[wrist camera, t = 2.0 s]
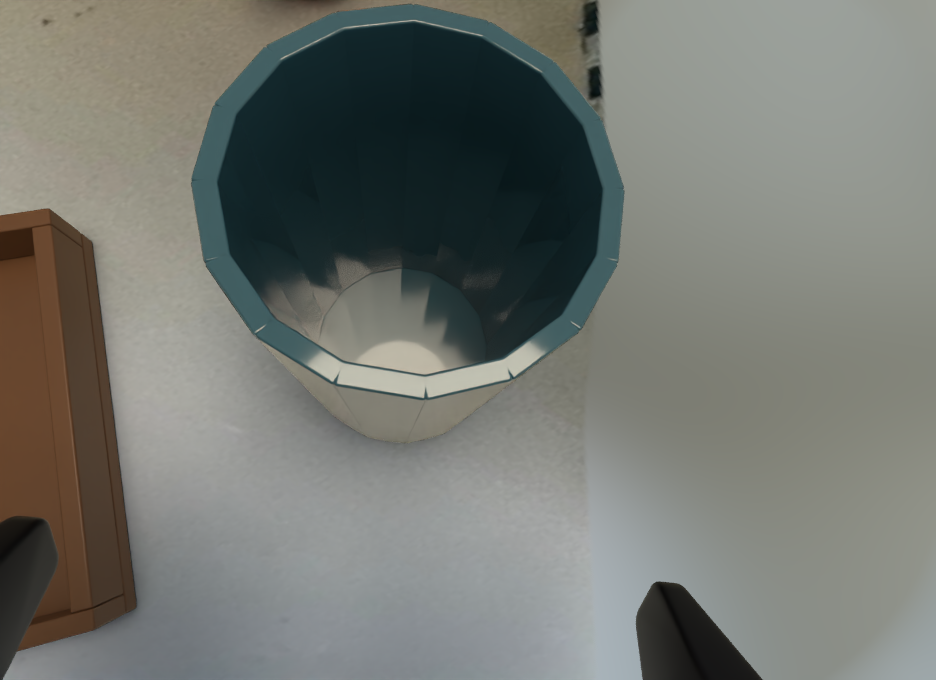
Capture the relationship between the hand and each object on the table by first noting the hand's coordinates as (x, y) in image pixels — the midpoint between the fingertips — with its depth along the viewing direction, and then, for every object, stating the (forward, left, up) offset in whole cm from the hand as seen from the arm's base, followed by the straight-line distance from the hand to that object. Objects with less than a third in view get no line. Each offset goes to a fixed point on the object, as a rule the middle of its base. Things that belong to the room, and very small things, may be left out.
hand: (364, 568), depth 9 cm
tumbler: (+6, -2, -12) cm, 14 cm away
